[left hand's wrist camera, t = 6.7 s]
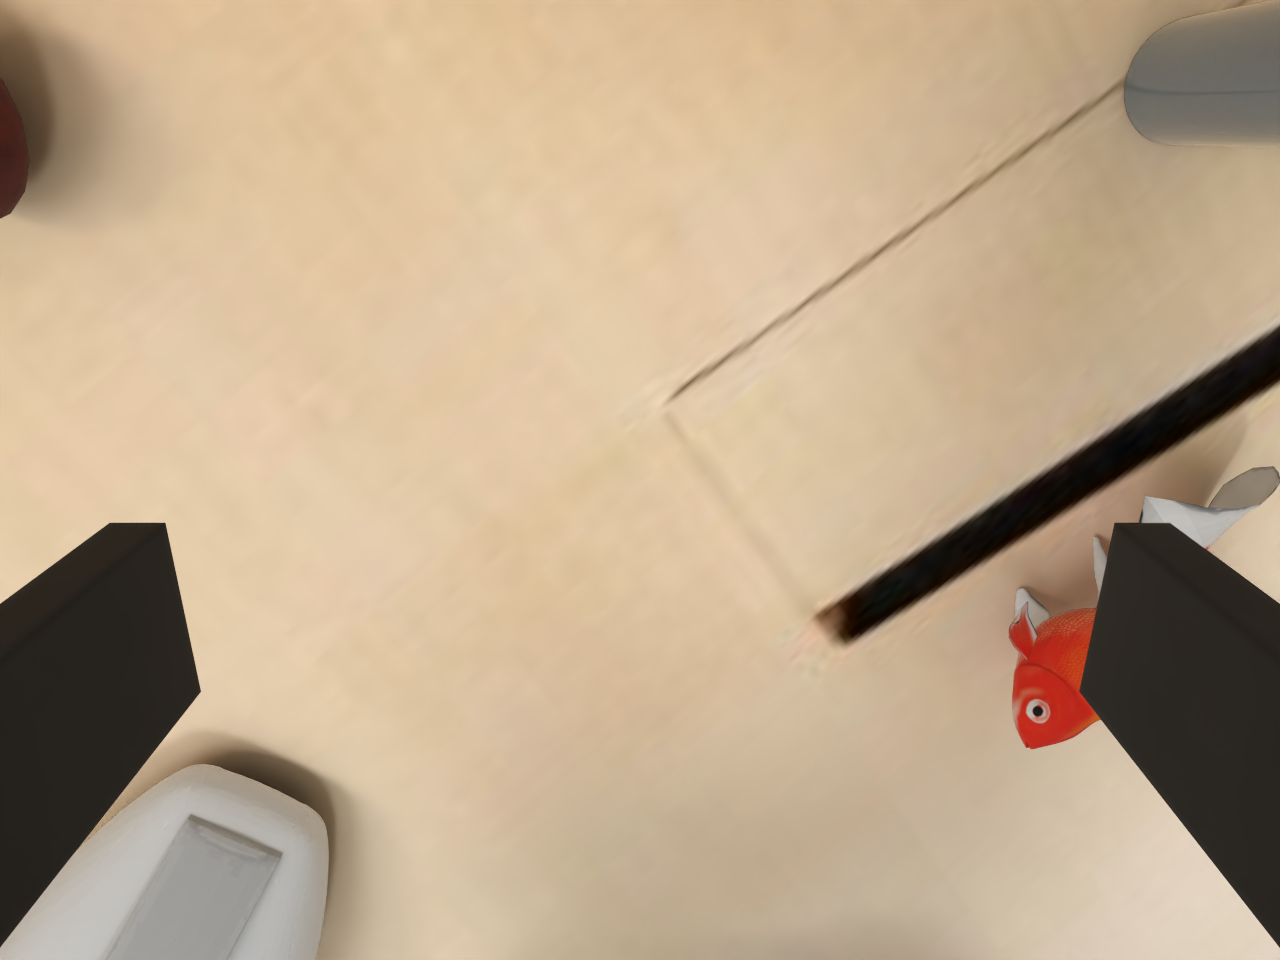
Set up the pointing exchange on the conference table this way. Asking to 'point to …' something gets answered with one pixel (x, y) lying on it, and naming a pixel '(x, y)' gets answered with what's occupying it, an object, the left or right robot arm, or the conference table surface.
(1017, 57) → the conference table surface
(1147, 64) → the bottle
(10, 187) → the dark brown ball
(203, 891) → the projector
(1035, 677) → the fish
